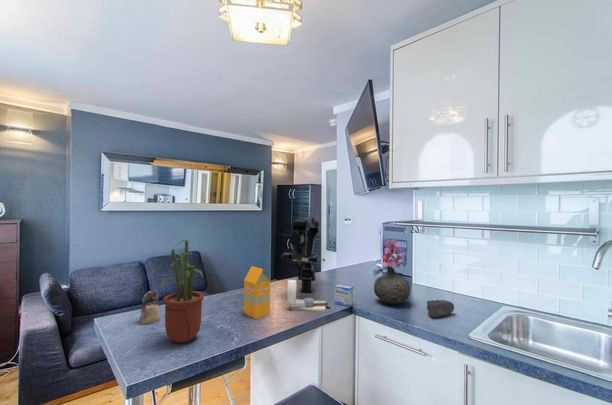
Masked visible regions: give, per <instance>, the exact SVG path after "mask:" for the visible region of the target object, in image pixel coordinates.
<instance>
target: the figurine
mask: <svg viewBox="0 0 612 405" xmlns="http://www.w3.org/2000/svg"><path fill="white" fill-rule="evenodd" d="M156 291H157V290H155V291H154V292H153V291H152V290H149V291H147V292H146V293H145V294H144V295H143V298H142V299H141V302H142V303H141V304H140V306H142V308H141V310H140V311H141V312H140V317H139V324H140V325H151V324H155V323H157V322H158V321H159V320H160V318H161V314H160V308H159V304H158V302H159V297H158V296H157V294H158V291H157V292H156Z"/></svg>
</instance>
